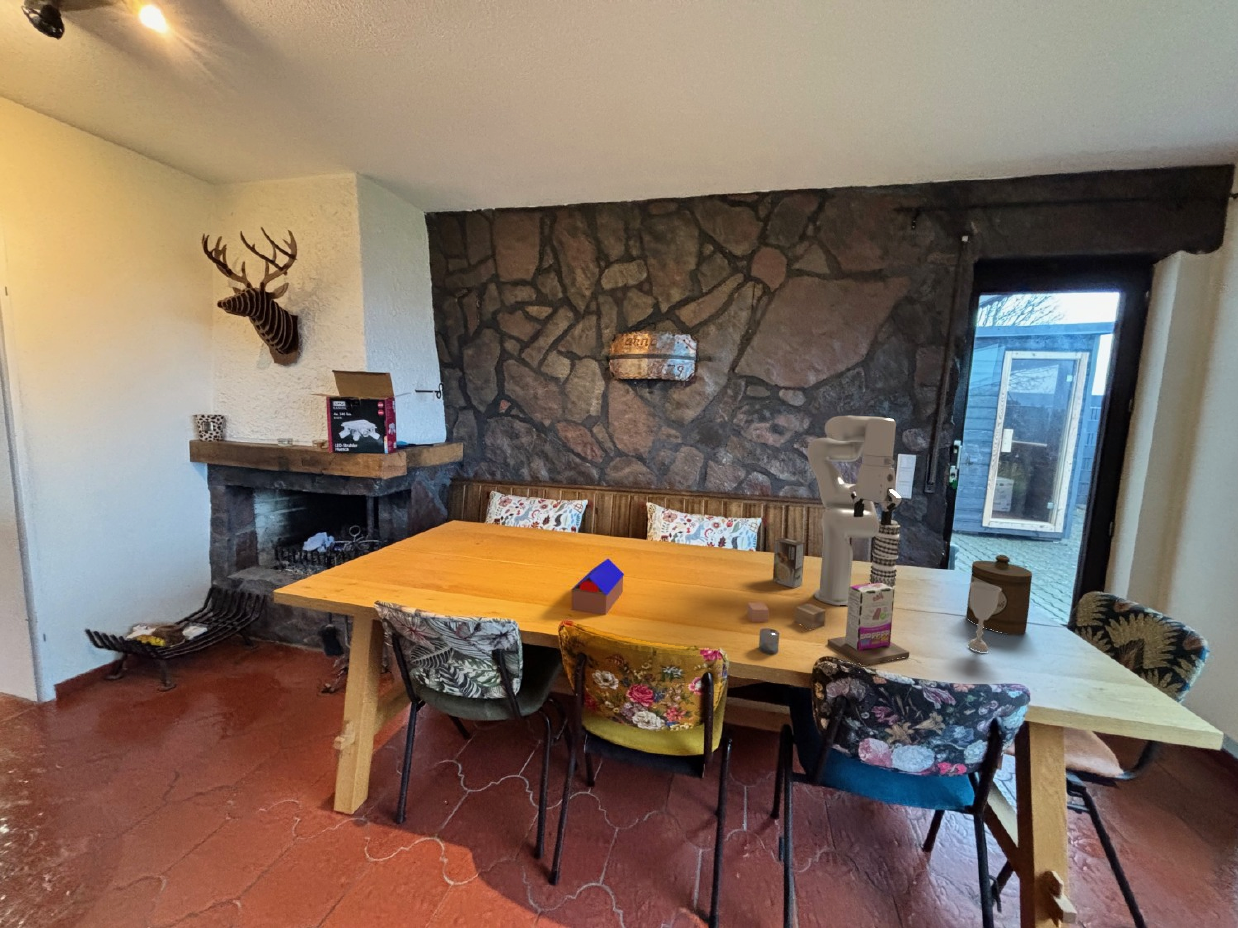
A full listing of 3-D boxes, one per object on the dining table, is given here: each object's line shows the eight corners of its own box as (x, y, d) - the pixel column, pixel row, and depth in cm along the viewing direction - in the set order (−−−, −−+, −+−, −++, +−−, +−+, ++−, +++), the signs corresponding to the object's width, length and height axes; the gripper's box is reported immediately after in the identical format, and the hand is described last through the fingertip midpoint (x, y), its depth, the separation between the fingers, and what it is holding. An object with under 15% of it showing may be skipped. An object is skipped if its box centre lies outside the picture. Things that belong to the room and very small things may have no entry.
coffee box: (803, 584, 182) (806, 542, 180) (794, 588, 178) (797, 545, 176) (780, 577, 189) (783, 537, 187) (771, 581, 184) (774, 539, 182)
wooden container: (954, 614, 159) (962, 548, 157) (997, 613, 160) (1006, 548, 158) (992, 635, 145) (1001, 563, 142) (1039, 635, 146) (1049, 563, 143)
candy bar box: (875, 638, 138) (881, 581, 136) (890, 646, 133) (896, 588, 131) (843, 642, 134) (848, 585, 132) (857, 651, 129) (862, 592, 127)
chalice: (981, 643, 140) (988, 582, 137) (1000, 655, 133) (1008, 591, 131) (955, 642, 139) (963, 581, 137) (973, 655, 133) (981, 591, 130)
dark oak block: (807, 618, 153) (808, 603, 152) (824, 626, 148) (825, 610, 147) (794, 622, 150) (795, 607, 149) (811, 630, 145) (812, 614, 144)
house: (623, 592, 170) (624, 560, 169) (606, 616, 151) (607, 579, 149) (591, 588, 173) (591, 556, 172) (569, 610, 154) (570, 574, 153)
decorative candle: (871, 589, 179) (878, 522, 176) (865, 580, 188) (871, 516, 185) (899, 592, 177) (906, 524, 174) (891, 583, 186) (898, 518, 183)
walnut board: (872, 636, 142) (872, 631, 141) (908, 657, 130) (909, 651, 130) (827, 644, 136) (827, 639, 136) (861, 666, 125) (862, 660, 125)
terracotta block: (762, 614, 155) (763, 602, 154) (768, 622, 150) (769, 609, 149) (746, 614, 154) (747, 602, 154) (752, 621, 150) (752, 609, 149)
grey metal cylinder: (770, 644, 135) (771, 627, 135) (782, 653, 131) (783, 635, 130) (754, 646, 134) (756, 629, 133) (766, 655, 129) (767, 637, 129)
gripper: (914, 465, 132) (907, 527, 134) (863, 458, 148) (858, 513, 151) (892, 465, 130) (886, 529, 132) (843, 458, 146) (838, 514, 148)
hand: (871, 520), depth 141 cm, fingers open, 9 cm apart
